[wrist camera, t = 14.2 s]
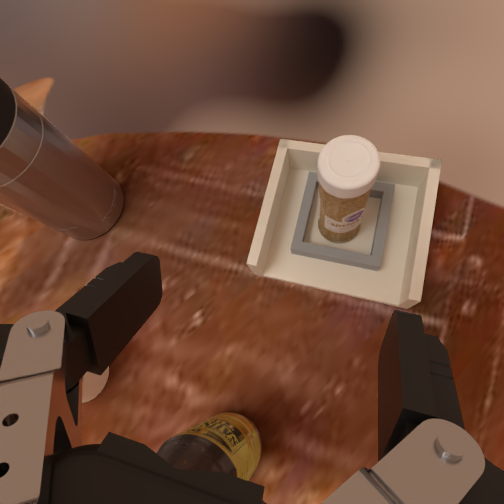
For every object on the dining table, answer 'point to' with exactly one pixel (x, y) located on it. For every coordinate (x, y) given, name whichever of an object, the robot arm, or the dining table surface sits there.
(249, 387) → the dining table surface
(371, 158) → the sprinkles bottle
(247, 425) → the sauce bottle
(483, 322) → the dining table surface
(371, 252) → the caddy
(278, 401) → the dining table surface
